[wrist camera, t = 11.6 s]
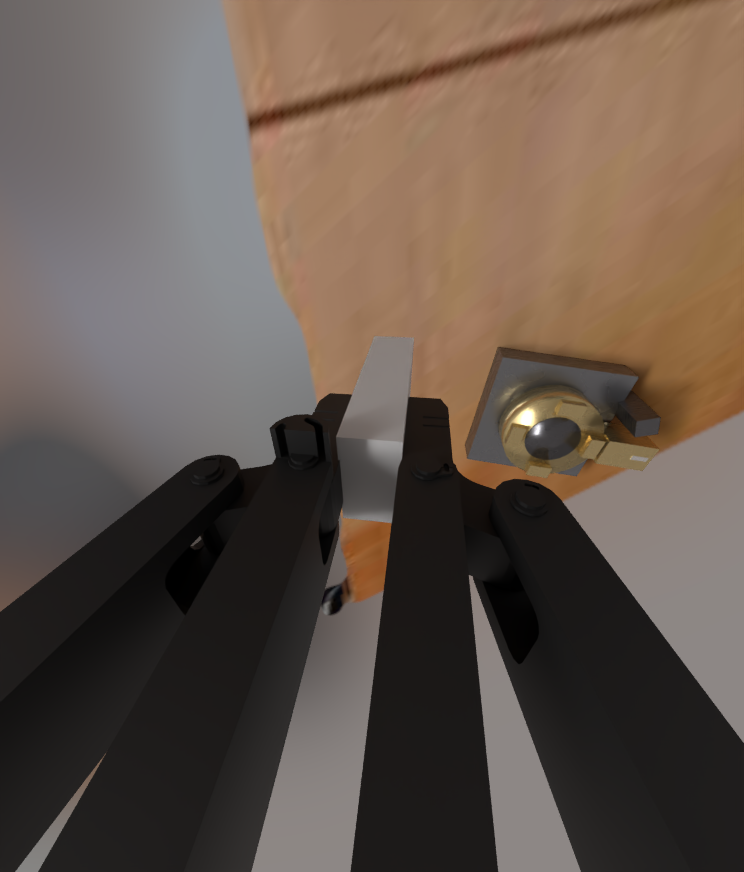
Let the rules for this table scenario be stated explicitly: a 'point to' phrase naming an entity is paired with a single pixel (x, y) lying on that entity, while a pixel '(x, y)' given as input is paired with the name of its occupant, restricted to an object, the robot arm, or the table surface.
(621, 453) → the brass ring with ball
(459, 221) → the table surface
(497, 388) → the housing
